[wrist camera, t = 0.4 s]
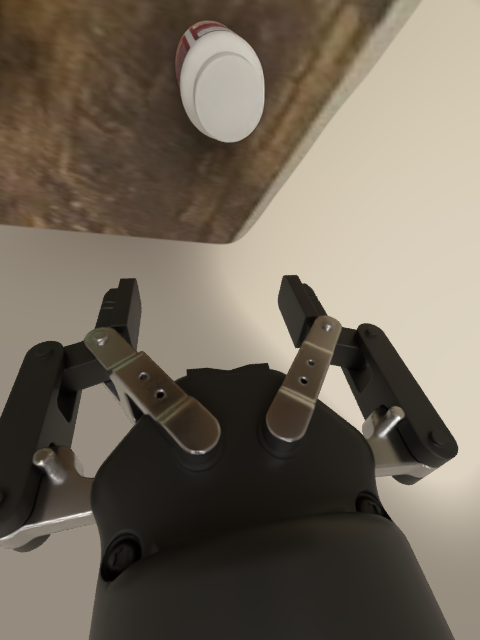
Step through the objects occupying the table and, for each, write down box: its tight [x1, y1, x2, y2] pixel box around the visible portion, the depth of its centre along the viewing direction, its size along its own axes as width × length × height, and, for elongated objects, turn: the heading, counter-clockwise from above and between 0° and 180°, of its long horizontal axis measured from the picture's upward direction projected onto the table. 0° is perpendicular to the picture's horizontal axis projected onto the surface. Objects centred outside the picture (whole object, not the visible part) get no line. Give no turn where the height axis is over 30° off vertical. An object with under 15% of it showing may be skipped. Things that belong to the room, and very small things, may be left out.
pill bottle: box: [175, 21, 264, 142], centre depth 22 cm, size 6×6×11 cm
